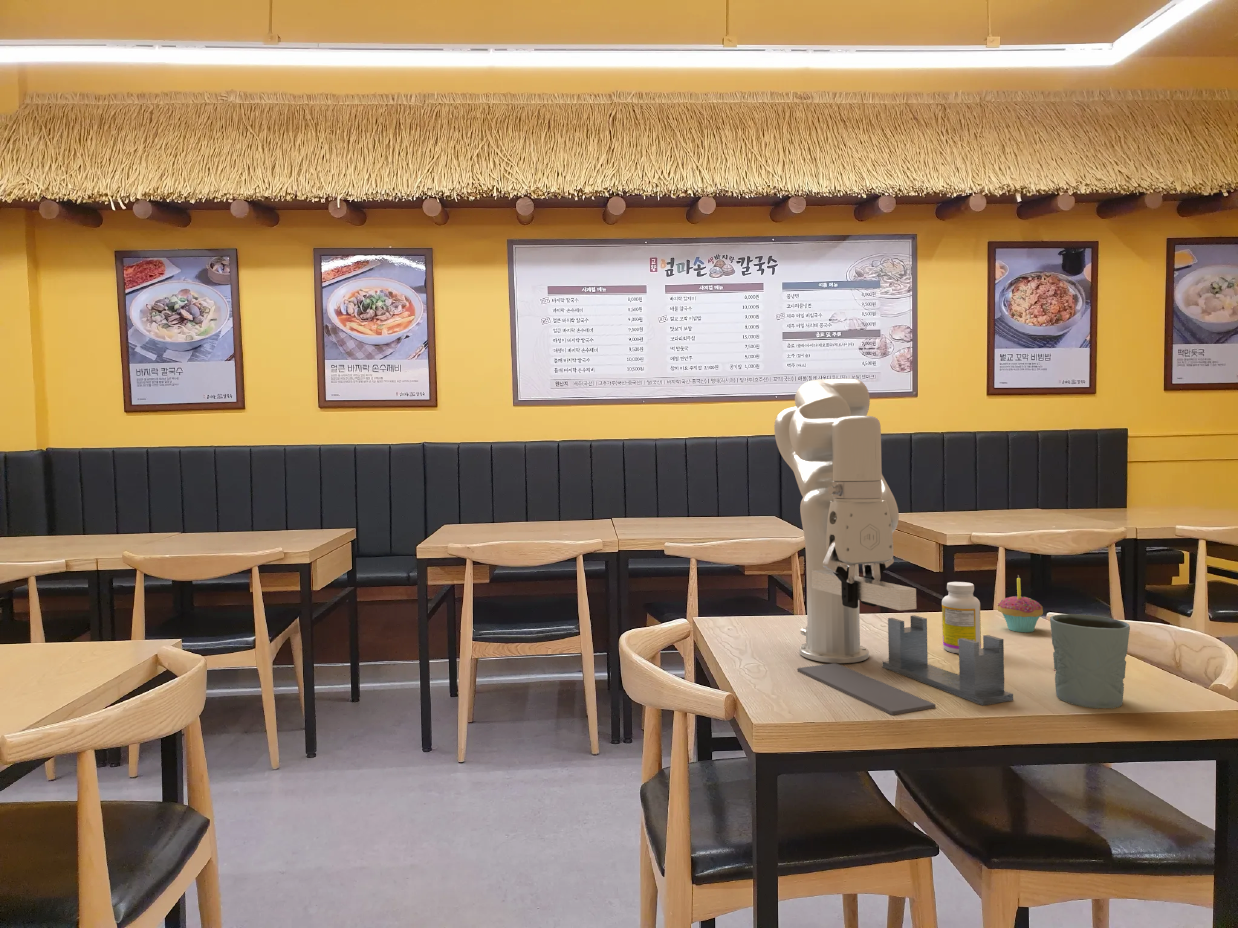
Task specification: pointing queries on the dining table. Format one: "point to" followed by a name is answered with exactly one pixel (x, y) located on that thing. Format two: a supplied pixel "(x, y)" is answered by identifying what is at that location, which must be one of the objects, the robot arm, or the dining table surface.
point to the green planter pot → (1089, 659)
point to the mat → (867, 689)
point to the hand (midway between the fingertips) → (859, 604)
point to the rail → (869, 590)
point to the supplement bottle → (960, 616)
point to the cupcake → (1020, 611)
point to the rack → (975, 677)
